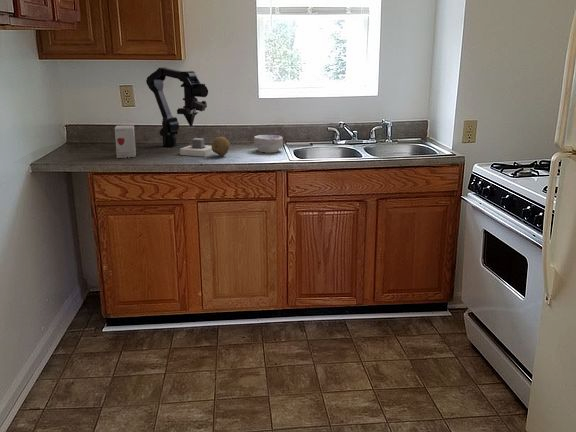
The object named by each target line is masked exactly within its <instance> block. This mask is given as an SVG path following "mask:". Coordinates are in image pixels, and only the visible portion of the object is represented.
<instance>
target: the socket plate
mask: <svg viewBox="0 0 576 432" xmlns="http://www.w3.org/2000/svg"><path fill="white" fill-rule="evenodd" d="M213 154H216V153H215V152H213V151H212V145H205V148H203V149H196V148H192V143H191V144H189V145H186V146H184V147H182V148H179V155H181V156H191V157H192V156H194V157H207V156H210V155H213Z"/></svg>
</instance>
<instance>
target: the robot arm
mask: <svg viewBox="0 0 576 432" xmlns="http://www.w3.org/2000/svg"><path fill="white" fill-rule="evenodd" d="M166 77H168V78H172V79H177V80H179V82H182V84H181V85H180V88H183V96H184V97H183V98H182V101H184V105H183V106H182V107H179V108H177V110H176V114H177V115H183V117H185V120H186V121H187V123H188V125H189V126H190V127H193V125H194V121H195V116H197V114H199V112H204V111H206V108H208V105H207V101H206V100H202V101H199V100H198V98H206V97H207V96H208V94H209V89H208V87H207V86H206V83H201V81H200V79H199V78H198V75H197V74H196V72H195V71H194V70H188V71H187V70H186V71H184V70H183V71H181V70H176V69H172V68H168V67H164V66H163V67H159V68H157V69H156V70H155V71H154V72H151V74H149V75H148V76H147V78H146V81H145V82H146V85H147V87H148V89H149V90H150V91H151V92H152V93H153V95H154V97H155V99H156V104H157V106H158V108H159V111H160V114H161V117H162V121H161V125H162V128H161V129H160V131H159V135H160V136H161V137H162V144H161V147H162V148H173V147H174V148H175V147H177V146H178V143H177V138H176V135H178V133H179V129H180V123H179V120H178V118H177V116H176V117H174V116H173V115H172V112H171V109H170V107H169V105H168V102H167V98H166V95H165V93H164V91H163V90H164V81H165V80H166V79H167V78H166ZM198 111H199V112H198Z"/></svg>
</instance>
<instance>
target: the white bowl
mask: <svg viewBox="0 0 576 432" xmlns="http://www.w3.org/2000/svg"><path fill="white" fill-rule="evenodd" d="M283 138H284V137H283V136H281V135H277V134H276V135H275V134H258V135H255V136H253V146H254V147H256V148H257V150H258V151H259V152H260V153H263V152H265V153H266V154H273V152H274V153H277V152H279V149H280V148H282V147H283V146H284V145H283V142H284V141H283ZM265 153H264V154H265Z"/></svg>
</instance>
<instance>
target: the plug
mask: <svg viewBox="0 0 576 432" xmlns="http://www.w3.org/2000/svg"><path fill="white" fill-rule="evenodd" d="M191 144H192V148H196V149H203V148H205V139H204V138H202V137H201V138H199V137H194V138H193V139H191Z"/></svg>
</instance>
